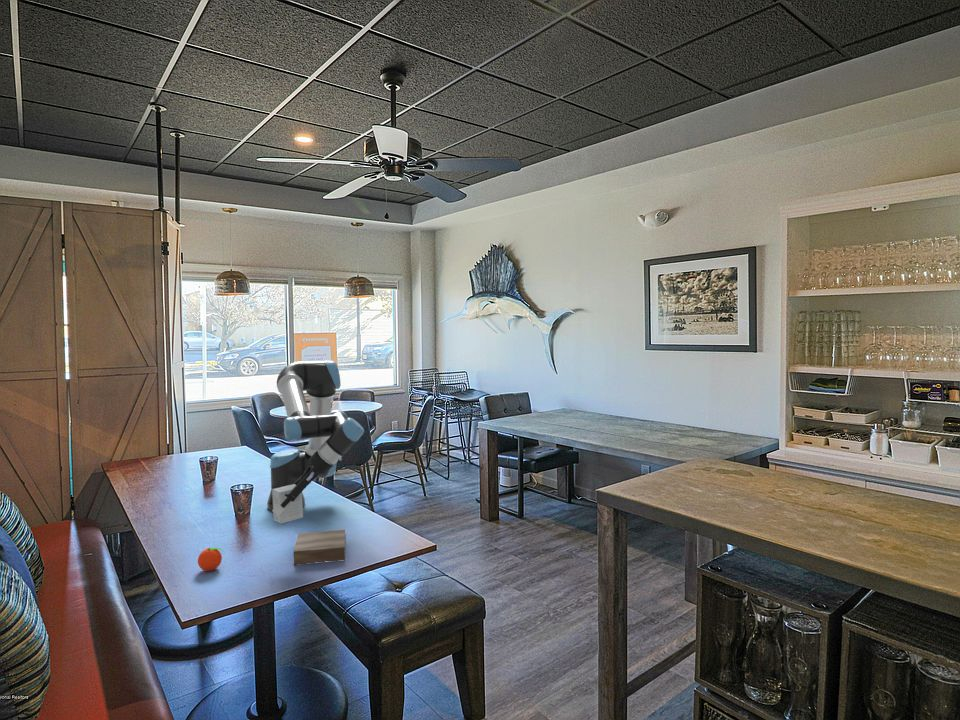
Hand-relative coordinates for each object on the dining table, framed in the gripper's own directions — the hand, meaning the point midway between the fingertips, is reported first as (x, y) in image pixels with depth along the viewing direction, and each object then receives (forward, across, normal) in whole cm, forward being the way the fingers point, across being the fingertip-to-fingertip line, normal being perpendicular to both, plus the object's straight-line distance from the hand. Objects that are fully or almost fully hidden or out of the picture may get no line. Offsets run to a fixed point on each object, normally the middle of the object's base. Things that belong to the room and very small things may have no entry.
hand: (277, 508), depth 189 cm
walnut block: (+3, +1, -22) cm, 22 cm away
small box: (+1, 0, -5) cm, 5 cm away
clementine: (+26, -5, +2) cm, 26 cm away
